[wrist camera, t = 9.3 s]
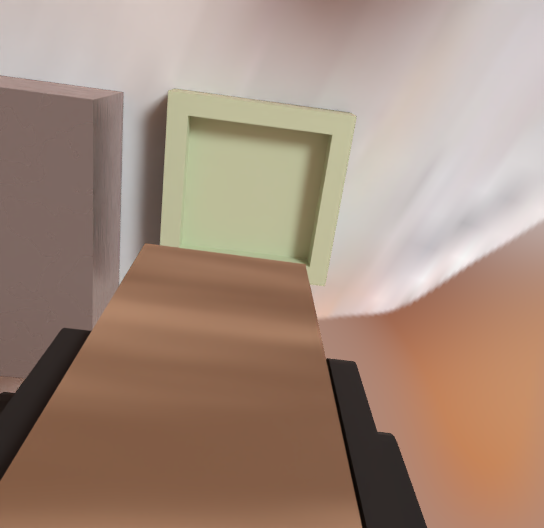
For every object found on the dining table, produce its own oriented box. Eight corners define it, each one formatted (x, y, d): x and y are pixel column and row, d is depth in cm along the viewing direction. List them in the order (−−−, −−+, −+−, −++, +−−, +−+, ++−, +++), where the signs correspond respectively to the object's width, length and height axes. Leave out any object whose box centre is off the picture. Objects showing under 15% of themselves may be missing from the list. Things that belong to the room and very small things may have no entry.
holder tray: (174, 88, 26) (168, 90, 24) (350, 112, 26) (356, 116, 25) (164, 255, 29) (158, 267, 27) (321, 273, 30) (325, 286, 28)
